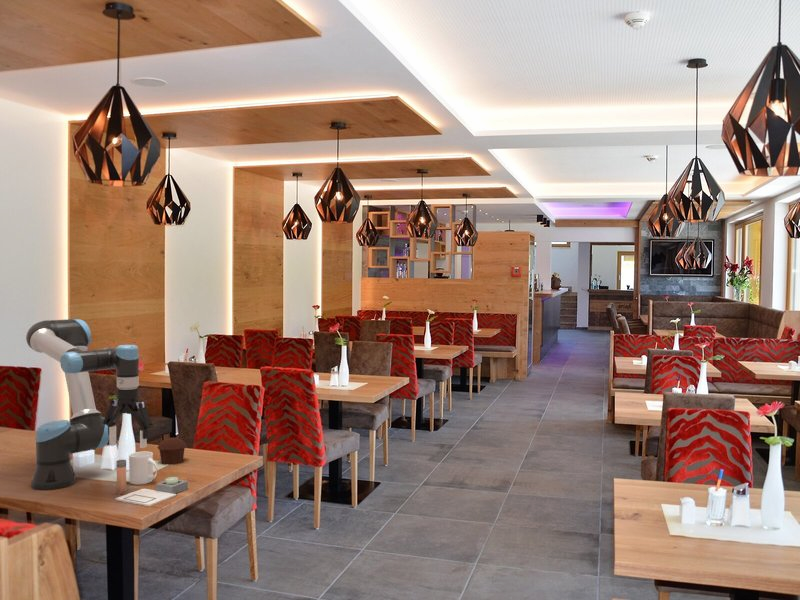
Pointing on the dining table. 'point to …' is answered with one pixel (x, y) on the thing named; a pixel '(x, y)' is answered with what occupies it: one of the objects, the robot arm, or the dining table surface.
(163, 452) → the muffin
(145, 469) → the mug
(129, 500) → the sheet
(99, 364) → the robot arm
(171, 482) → the button
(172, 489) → the button housing
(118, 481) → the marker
